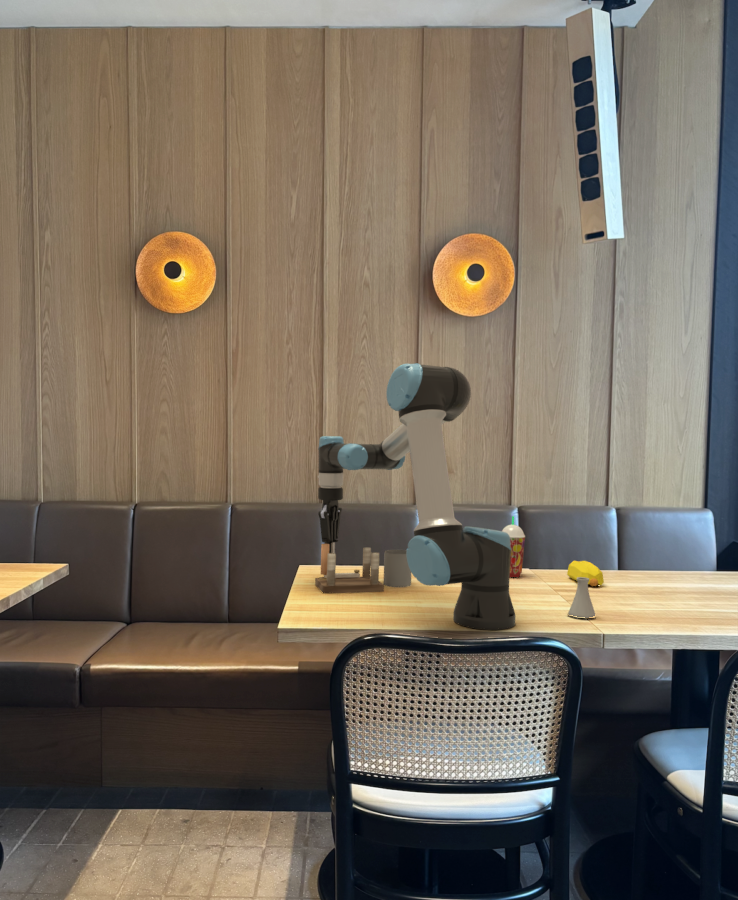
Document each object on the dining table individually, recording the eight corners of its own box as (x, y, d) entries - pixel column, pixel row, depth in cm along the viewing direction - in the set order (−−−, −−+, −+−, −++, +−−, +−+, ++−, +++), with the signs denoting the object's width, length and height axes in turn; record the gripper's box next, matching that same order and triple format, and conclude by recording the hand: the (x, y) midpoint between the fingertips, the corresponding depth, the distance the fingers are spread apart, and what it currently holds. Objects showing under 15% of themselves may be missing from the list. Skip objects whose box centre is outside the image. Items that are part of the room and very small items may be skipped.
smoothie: (493, 574, 233) (495, 514, 232) (515, 573, 235) (517, 514, 235) (505, 579, 225) (508, 517, 224) (528, 578, 227) (530, 517, 227)
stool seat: (383, 591, 202) (384, 553, 201) (323, 593, 197) (324, 554, 197) (372, 582, 213) (373, 547, 213) (314, 584, 209) (315, 547, 208)
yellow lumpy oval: (583, 588, 215) (607, 589, 215) (583, 567, 215) (608, 567, 215) (563, 577, 233) (586, 577, 233) (564, 557, 233) (587, 557, 233)
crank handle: (359, 577, 209) (360, 544, 209) (321, 578, 206) (322, 544, 206) (357, 575, 211) (358, 543, 211) (319, 576, 208) (320, 543, 208)
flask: (573, 611, 184) (575, 574, 184) (600, 616, 180) (601, 578, 180) (562, 616, 179) (563, 578, 179) (589, 622, 174) (591, 582, 174)
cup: (411, 582, 216) (412, 550, 216) (410, 588, 208) (411, 554, 207) (384, 581, 217) (385, 549, 216) (382, 586, 208) (383, 553, 208)
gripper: (327, 484, 218) (326, 559, 219) (310, 487, 206) (309, 566, 207) (349, 485, 216) (348, 560, 216) (333, 489, 203) (332, 568, 204)
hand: (329, 563), depth 212 cm, fingers closed
